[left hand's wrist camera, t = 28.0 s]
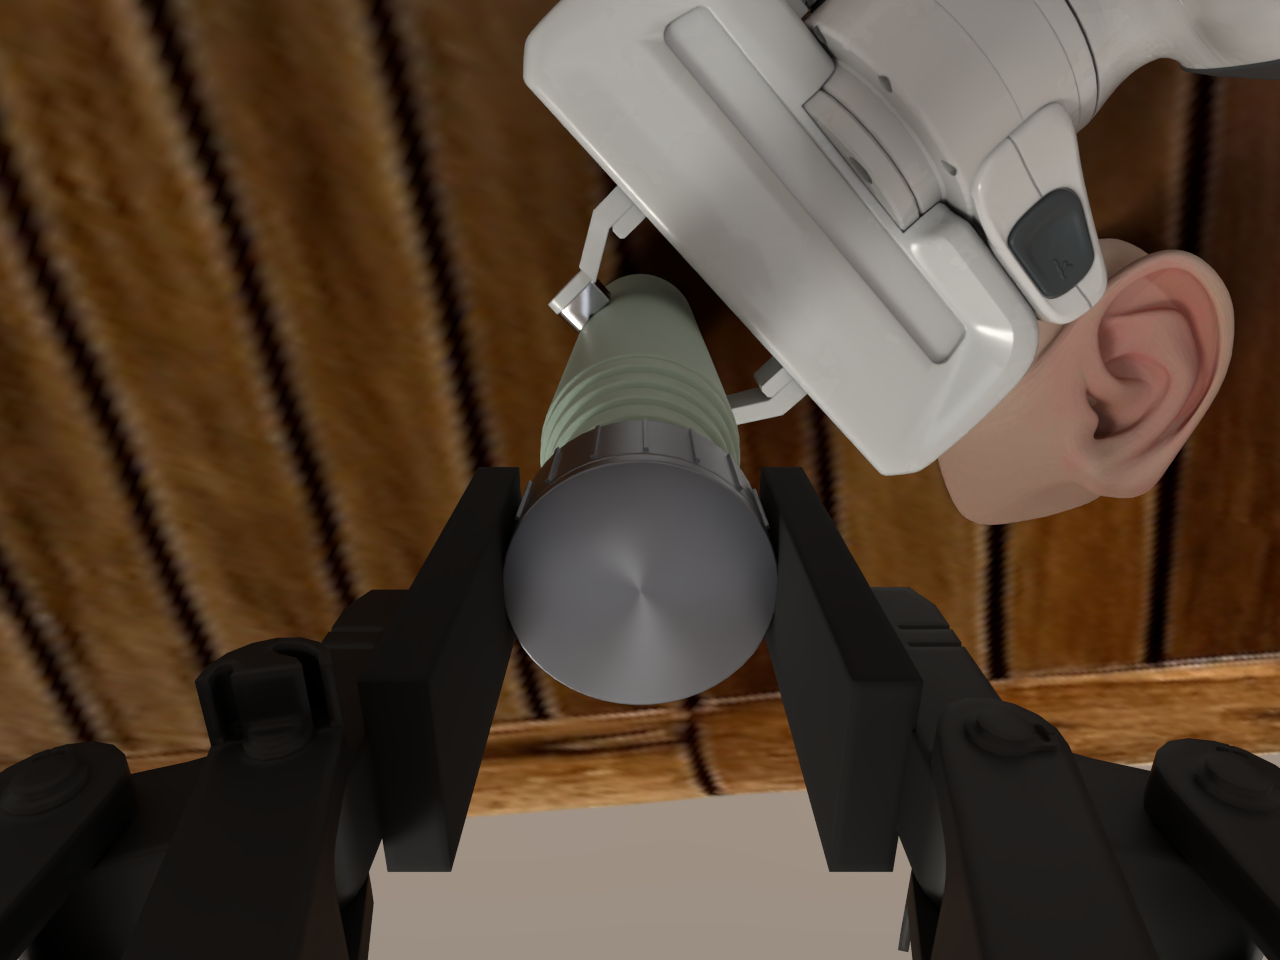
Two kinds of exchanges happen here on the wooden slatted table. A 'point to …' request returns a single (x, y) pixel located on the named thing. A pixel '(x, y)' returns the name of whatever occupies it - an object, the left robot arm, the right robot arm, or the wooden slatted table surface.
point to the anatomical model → (1102, 394)
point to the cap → (640, 565)
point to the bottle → (640, 370)
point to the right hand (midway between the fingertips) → (624, 378)
